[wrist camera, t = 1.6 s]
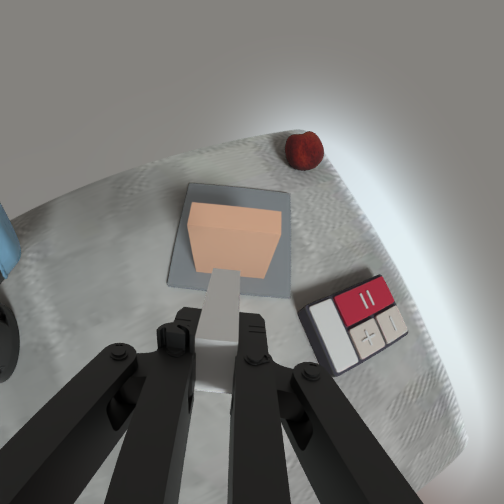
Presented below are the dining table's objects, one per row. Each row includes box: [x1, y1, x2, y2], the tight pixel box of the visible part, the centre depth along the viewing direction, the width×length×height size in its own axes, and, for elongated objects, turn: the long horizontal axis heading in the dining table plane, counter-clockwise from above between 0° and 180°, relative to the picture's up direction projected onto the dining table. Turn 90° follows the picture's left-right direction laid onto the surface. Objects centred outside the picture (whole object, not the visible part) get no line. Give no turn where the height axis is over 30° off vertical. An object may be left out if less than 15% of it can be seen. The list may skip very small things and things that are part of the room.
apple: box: [285, 131, 324, 171], centre depth 50 cm, size 7×8×8 cm
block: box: [187, 202, 281, 279], centre depth 36 cm, size 10×3×13 cm, turn 86°
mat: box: [167, 183, 291, 298], centre depth 44 cm, size 18×19×1 cm
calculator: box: [298, 274, 408, 377], centre depth 39 cm, size 11×4×15 cm
